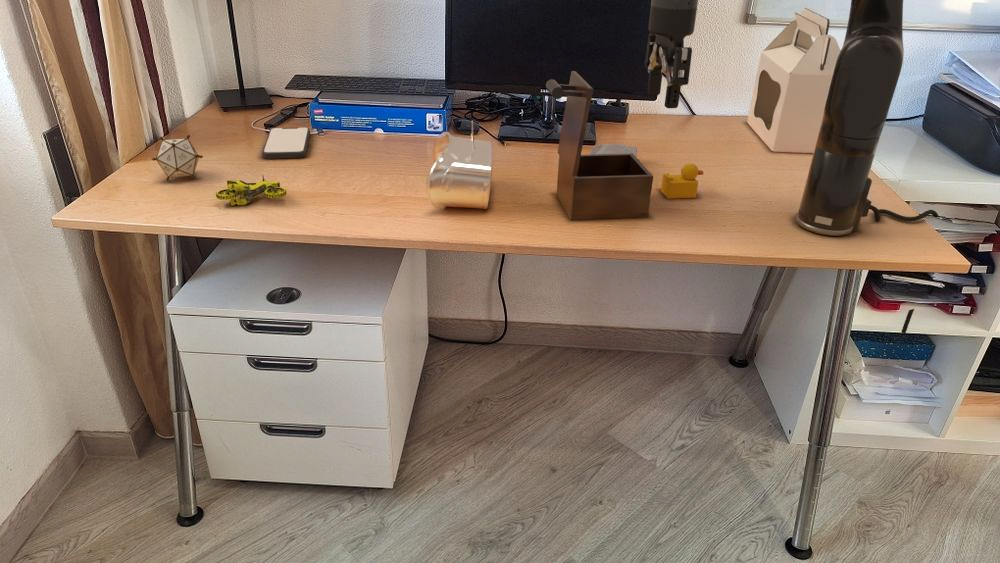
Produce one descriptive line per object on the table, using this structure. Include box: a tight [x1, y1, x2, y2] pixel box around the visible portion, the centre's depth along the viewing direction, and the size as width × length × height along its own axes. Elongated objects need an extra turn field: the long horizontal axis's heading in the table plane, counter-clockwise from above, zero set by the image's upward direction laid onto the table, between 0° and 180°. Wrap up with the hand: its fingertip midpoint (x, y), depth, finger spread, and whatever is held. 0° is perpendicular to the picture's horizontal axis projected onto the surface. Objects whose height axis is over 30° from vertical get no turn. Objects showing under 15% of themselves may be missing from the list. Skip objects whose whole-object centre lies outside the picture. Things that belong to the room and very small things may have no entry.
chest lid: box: [545, 70, 594, 176], centre depth 122 cm, size 15×12×6 cm
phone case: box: [261, 126, 311, 160], centre depth 154 cm, size 9×2×16 cm
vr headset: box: [425, 120, 494, 210], centre depth 130 cm, size 18×11×14 cm, turn 1°
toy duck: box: [660, 162, 704, 199], centre depth 136 cm, size 7×4×6 cm, turn 99°
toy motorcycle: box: [215, 174, 288, 206], centre depth 128 cm, size 12×4×7 cm
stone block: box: [588, 142, 638, 158], centre depth 148 cm, size 12×5×10 cm
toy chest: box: [556, 153, 654, 221], centre depth 129 cm, size 14×12×8 cm
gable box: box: [746, 7, 841, 154], centre depth 163 cm, size 22×13×28 cm, turn 178°
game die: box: [151, 134, 204, 182], centre depth 135 cm, size 9×8×10 cm
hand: (661, 101), depth 126 cm, fingers open, 8 cm apart
